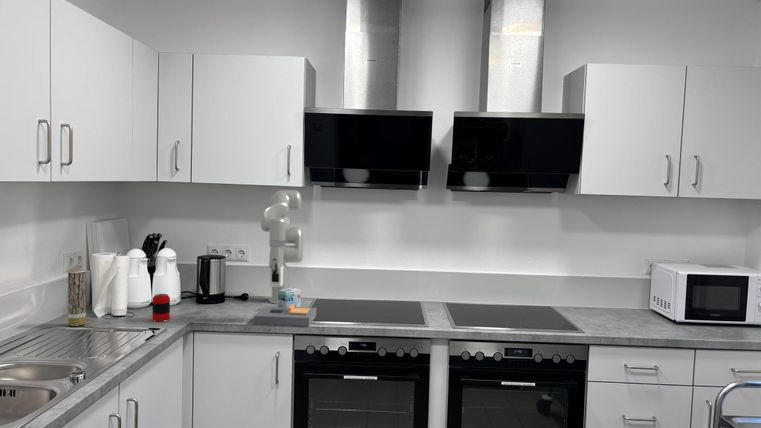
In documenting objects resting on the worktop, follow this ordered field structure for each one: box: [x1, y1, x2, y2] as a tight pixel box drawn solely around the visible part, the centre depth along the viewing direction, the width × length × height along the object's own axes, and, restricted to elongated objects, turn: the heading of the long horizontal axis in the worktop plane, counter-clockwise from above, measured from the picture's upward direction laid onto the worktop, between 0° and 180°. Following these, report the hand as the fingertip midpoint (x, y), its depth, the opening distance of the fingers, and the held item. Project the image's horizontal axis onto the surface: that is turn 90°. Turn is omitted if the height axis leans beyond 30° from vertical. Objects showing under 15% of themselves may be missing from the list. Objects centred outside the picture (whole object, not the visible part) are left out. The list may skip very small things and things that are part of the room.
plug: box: [269, 266, 283, 287], centre depth 251 cm, size 5×5×11 cm
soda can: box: [151, 293, 171, 321], centre depth 245 cm, size 8×8×12 cm
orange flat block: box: [288, 304, 310, 315], centre depth 252 cm, size 9×9×3 cm
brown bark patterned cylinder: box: [67, 268, 87, 326], centre depth 233 cm, size 7×7×25 cm
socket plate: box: [253, 305, 317, 327], centre depth 252 cm, size 20×26×4 cm
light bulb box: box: [277, 287, 302, 307], centre depth 272 cm, size 11×7×11 cm, turn 143°
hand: (276, 280), depth 251 cm, fingers closed on plug, 5 cm apart
